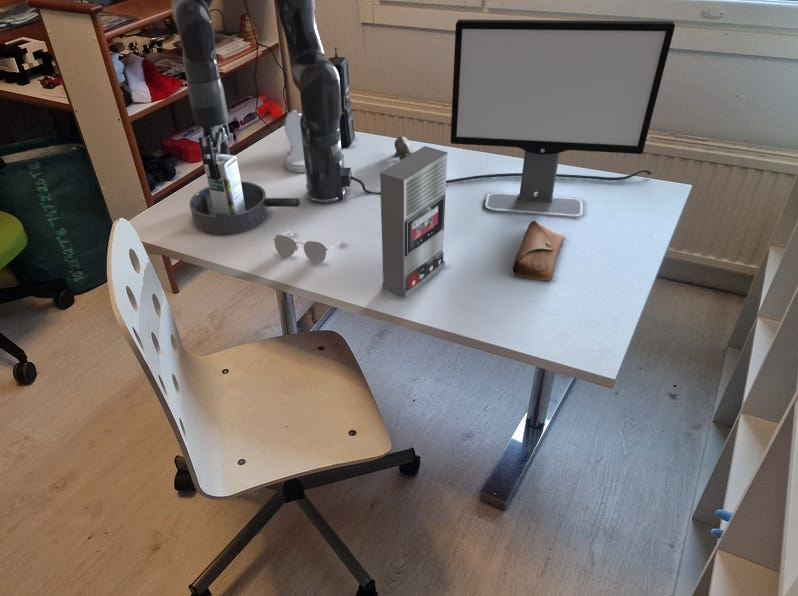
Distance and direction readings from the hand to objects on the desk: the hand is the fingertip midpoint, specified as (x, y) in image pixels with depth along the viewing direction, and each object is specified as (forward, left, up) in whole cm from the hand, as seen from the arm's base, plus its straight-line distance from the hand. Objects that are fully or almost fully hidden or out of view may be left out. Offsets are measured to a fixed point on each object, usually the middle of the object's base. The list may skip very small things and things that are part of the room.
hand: (221, 170), depth 148 cm
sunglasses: (-22, +15, -12) cm, 29 cm away
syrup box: (0, 0, -12) cm, 12 cm away
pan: (0, 0, -12) cm, 12 cm away
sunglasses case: (-72, +16, -12) cm, 75 cm away
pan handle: (-13, 0, -9) cm, 16 cm away
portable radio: (-22, -43, -12) cm, 50 cm away
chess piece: (-13, -29, -12) cm, 34 cm away
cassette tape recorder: (-46, +25, -12) cm, 54 cm away
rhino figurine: (-41, -29, -12) cm, 52 cm away
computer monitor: (-73, -6, -12) cm, 74 cm away
